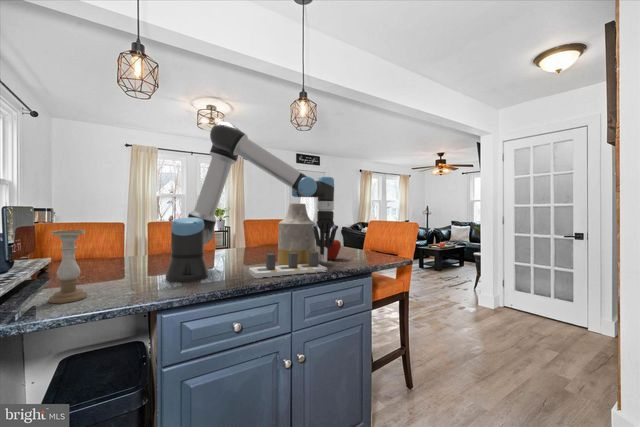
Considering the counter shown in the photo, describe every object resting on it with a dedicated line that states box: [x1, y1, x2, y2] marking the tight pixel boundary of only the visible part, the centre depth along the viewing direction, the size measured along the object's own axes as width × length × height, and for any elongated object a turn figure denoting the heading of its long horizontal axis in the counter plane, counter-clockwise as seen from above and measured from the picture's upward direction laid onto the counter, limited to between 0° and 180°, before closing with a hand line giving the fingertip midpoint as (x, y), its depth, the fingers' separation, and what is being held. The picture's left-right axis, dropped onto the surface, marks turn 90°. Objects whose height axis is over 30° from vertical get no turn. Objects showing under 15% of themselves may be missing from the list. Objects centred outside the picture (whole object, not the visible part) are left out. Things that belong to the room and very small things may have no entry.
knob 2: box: [288, 252, 298, 268], centre depth 130 cm, size 3×4×6 cm
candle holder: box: [48, 229, 88, 304], centre depth 88 cm, size 9×9×20 cm
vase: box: [277, 202, 316, 266], centre depth 149 cm, size 18×18×30 cm
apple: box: [324, 239, 342, 260], centre depth 163 cm, size 11×11×12 cm
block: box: [265, 252, 276, 269], centre depth 126 cm, size 3×4×6 cm
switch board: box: [248, 263, 328, 279], centre depth 130 cm, size 32×12×2 cm, turn 115°
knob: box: [309, 250, 320, 266], centre depth 135 cm, size 3×4×6 cm
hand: (324, 261), depth 137 cm, fingers closed
